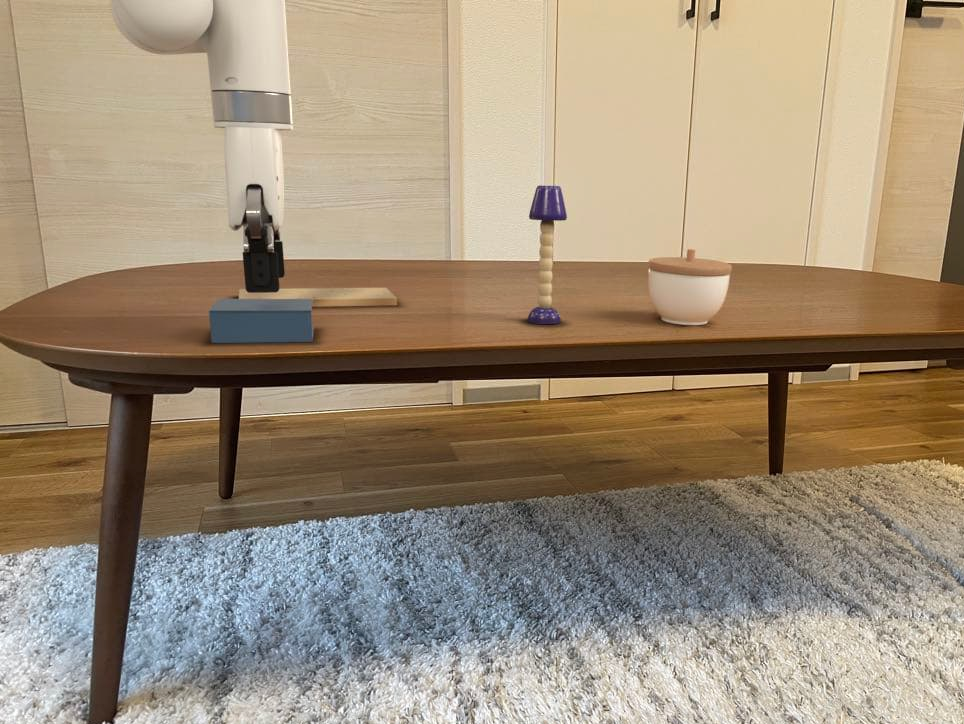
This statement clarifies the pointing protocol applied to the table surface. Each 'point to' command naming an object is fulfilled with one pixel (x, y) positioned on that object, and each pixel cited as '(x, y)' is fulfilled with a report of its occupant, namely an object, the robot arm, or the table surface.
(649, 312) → the table surface
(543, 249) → the toy lamp
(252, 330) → the blue rectangular block
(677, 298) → the trinket box
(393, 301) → the birch board
